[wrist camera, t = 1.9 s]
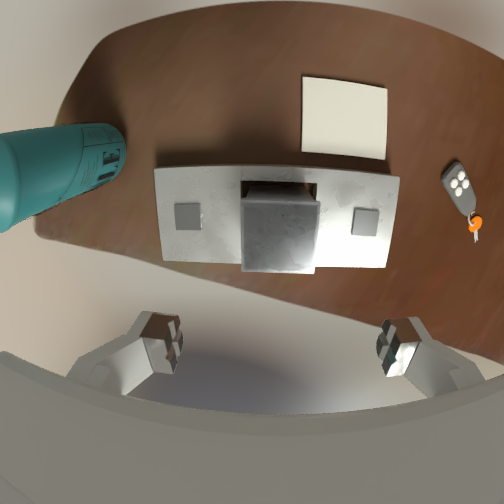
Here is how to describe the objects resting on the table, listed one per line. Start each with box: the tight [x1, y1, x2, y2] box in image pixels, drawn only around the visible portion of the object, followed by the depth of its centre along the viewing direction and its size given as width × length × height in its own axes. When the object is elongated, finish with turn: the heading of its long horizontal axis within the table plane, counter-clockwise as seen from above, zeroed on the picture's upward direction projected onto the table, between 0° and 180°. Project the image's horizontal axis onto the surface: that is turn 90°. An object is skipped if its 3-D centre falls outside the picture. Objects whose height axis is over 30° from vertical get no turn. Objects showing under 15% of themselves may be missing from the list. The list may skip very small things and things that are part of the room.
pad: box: [301, 77, 387, 160], centre depth 21 cm, size 8×7×1 cm
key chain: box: [441, 162, 482, 242], centre depth 23 cm, size 13×4×2 cm, turn 47°
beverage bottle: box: [0, 122, 126, 233], centre depth 15 cm, size 6×7×20 cm
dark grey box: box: [241, 185, 321, 274], centre depth 22 cm, size 5×5×7 cm
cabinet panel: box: [154, 164, 400, 267], centre depth 25 cm, size 22×9×2 cm, turn 90°
